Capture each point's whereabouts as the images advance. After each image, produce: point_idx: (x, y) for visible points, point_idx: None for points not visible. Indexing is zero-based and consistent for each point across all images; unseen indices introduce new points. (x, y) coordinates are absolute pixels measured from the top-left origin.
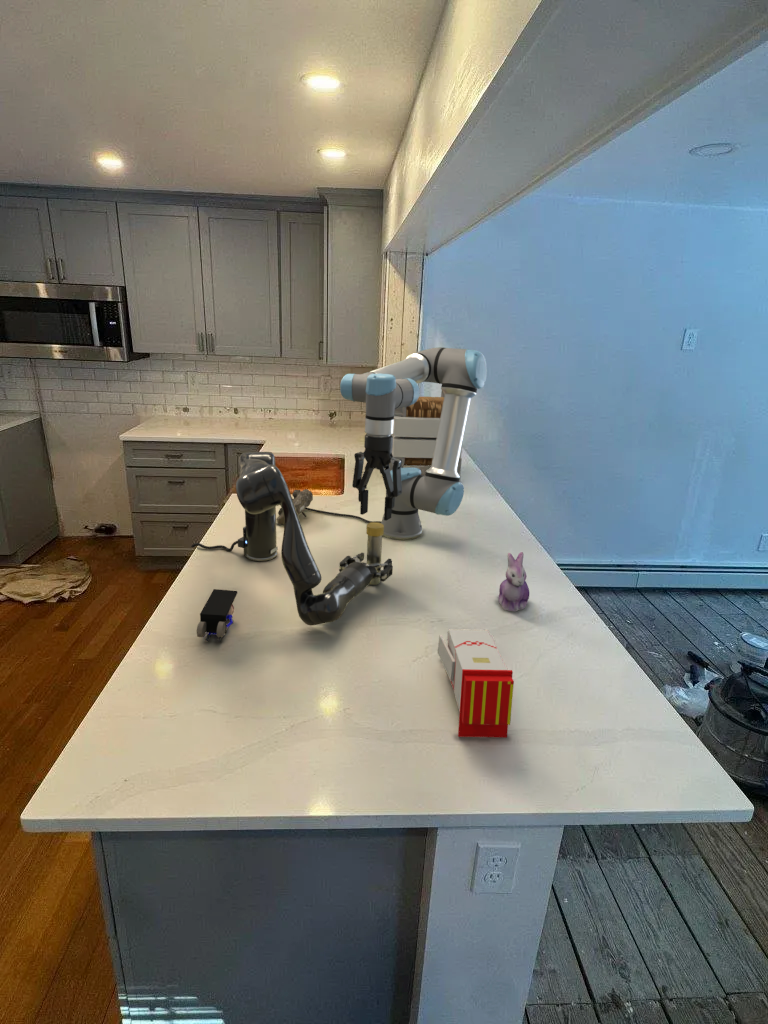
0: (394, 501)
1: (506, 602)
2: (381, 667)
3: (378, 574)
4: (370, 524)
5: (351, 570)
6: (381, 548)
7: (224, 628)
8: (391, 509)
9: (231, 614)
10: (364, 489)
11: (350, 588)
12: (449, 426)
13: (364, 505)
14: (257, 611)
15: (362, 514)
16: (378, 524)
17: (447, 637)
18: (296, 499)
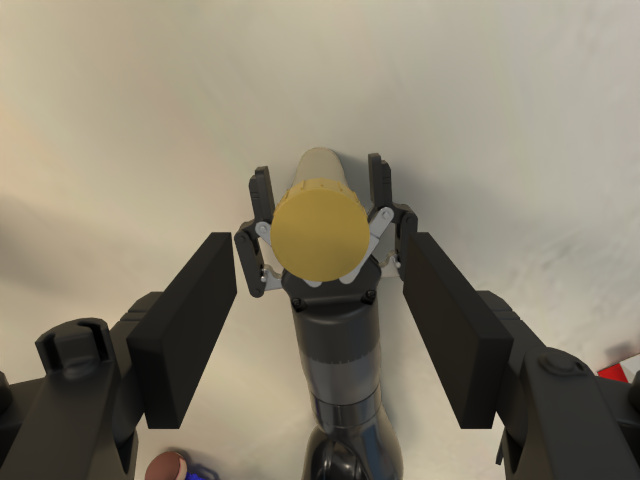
0: (526, 330)
1: None
2: (495, 430)
3: (391, 275)
4: (289, 241)
5: (348, 376)
6: (348, 187)
7: None
8: (449, 261)
9: (186, 469)
10: (129, 382)
11: (378, 404)
12: None
13: (219, 308)
14: (196, 413)
15: (236, 293)
16: (328, 216)
17: (623, 365)
18: None
